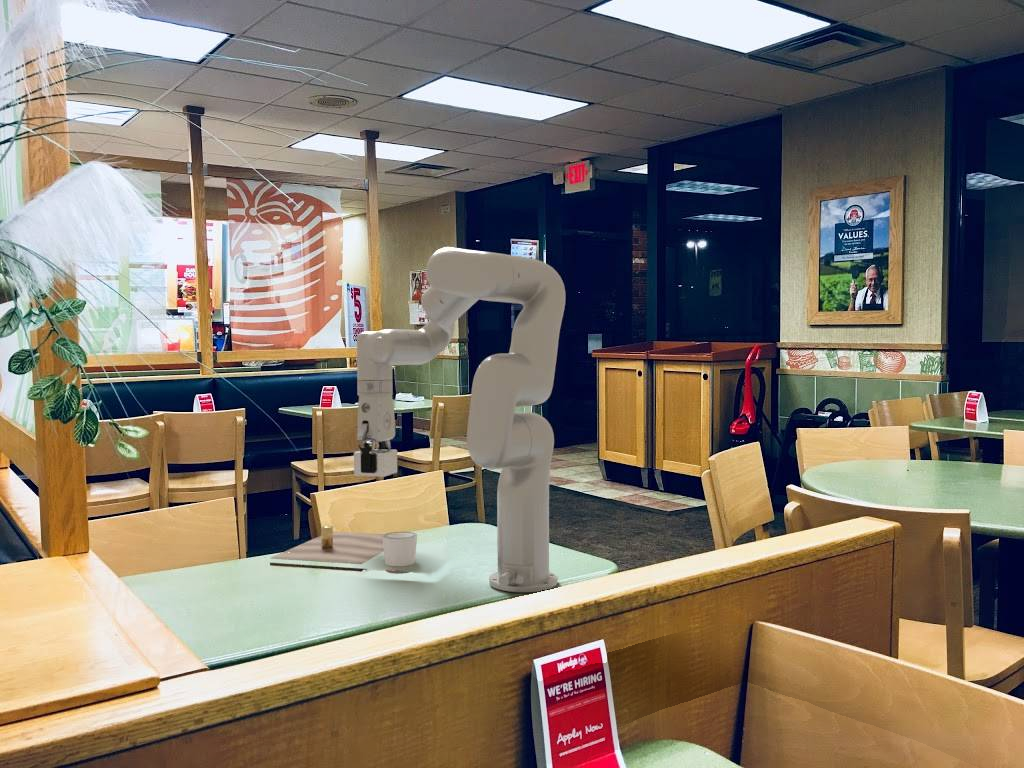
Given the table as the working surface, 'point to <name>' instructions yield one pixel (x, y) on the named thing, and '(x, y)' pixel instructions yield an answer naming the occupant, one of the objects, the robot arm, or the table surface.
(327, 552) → the brown flat slab
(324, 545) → the post
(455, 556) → the table surface
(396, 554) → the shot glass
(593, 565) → the table surface
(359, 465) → the small white box
